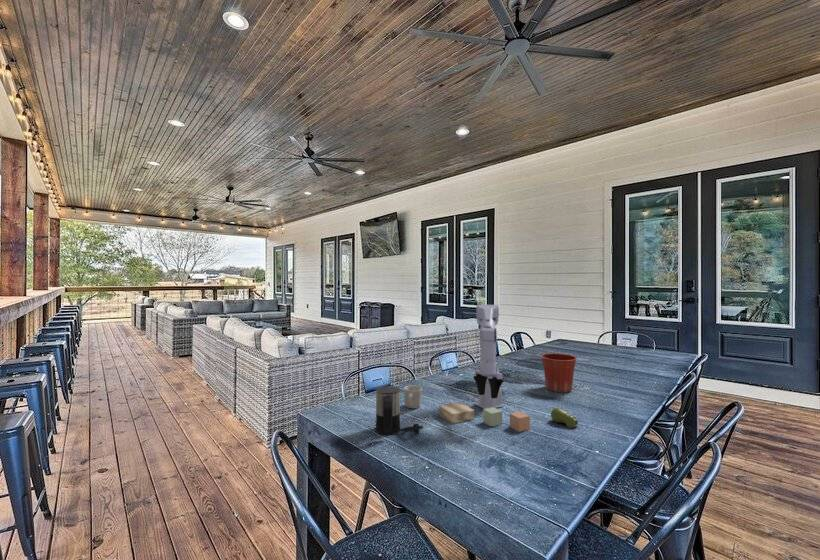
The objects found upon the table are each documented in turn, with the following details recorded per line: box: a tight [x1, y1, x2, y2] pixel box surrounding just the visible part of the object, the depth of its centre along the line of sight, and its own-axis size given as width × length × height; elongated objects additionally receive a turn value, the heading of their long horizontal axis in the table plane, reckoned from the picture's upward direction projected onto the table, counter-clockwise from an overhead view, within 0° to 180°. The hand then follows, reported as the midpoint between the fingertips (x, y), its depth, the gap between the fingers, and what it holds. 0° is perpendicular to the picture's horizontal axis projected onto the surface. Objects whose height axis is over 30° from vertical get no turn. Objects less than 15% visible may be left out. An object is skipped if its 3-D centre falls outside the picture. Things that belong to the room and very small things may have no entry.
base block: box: [438, 402, 475, 425], centre depth 147 cm, size 10×10×4 cm
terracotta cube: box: [509, 411, 531, 433], centre depth 136 cm, size 5×5×5 cm
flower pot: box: [540, 352, 578, 393], centre depth 184 cm, size 16×16×16 cm
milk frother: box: [374, 385, 424, 435], centre depth 133 cm, size 14×16×15 cm
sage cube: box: [482, 407, 503, 427], centre depth 141 cm, size 5×5×5 cm
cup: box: [403, 384, 423, 409], centre depth 157 cm, size 11×8×8 cm
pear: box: [550, 407, 579, 429], centre depth 141 cm, size 6×5×10 cm
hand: (487, 396), depth 141 cm, fingers open, 7 cm apart
